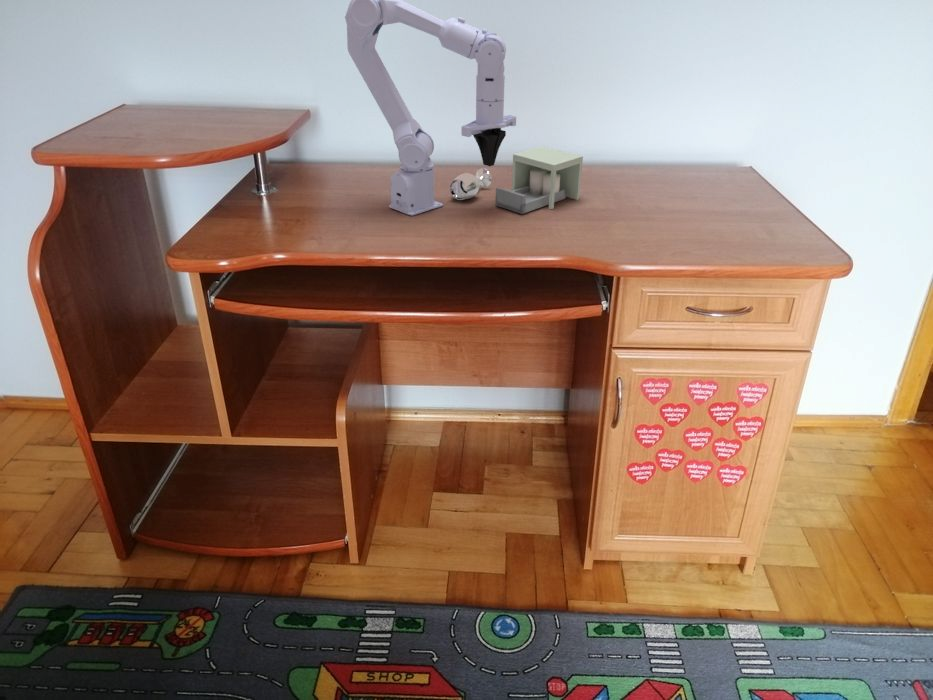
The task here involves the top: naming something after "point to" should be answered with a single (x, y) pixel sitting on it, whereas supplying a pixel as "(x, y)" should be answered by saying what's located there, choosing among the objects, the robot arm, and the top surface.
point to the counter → (549, 170)
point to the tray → (530, 193)
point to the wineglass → (469, 184)
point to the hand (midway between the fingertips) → (488, 164)
